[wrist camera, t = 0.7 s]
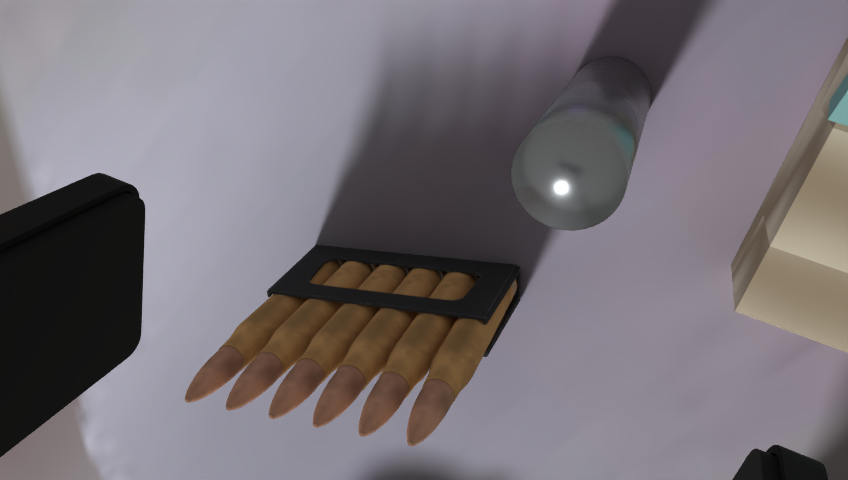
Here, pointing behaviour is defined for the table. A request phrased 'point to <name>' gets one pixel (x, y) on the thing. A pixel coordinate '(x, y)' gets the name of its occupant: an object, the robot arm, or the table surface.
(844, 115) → the teal square plate
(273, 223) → the table surface
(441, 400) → the ammunition clip
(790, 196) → the block
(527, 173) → the steel pin
